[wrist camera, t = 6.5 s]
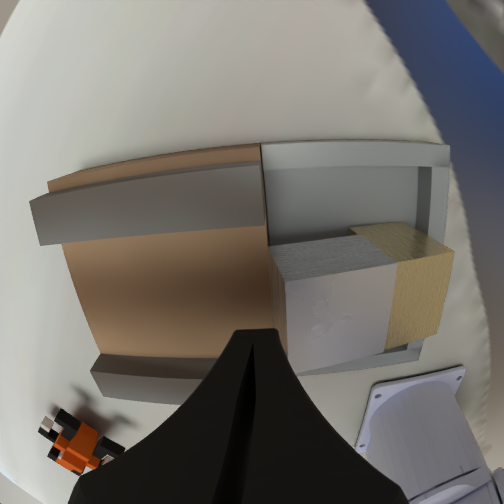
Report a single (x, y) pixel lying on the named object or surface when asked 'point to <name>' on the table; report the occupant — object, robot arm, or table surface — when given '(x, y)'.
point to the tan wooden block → (412, 279)
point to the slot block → (163, 263)
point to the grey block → (330, 300)
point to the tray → (355, 200)
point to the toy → (77, 444)
